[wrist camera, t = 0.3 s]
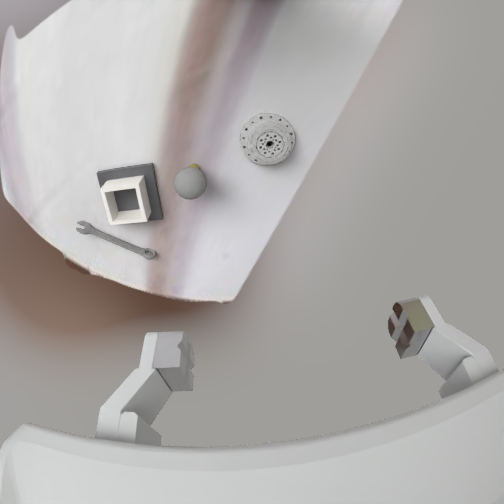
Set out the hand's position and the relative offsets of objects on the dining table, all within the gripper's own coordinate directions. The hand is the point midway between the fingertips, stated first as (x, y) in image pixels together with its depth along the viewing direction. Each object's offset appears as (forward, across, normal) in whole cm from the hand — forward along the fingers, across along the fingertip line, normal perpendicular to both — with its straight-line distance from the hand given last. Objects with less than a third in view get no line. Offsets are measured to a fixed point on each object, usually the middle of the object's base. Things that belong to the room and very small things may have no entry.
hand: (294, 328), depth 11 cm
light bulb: (+47, +10, +10) cm, 49 cm away
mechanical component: (+47, -4, +6) cm, 47 cm away
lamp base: (+46, +24, +13) cm, 54 cm away
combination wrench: (+47, +31, +22) cm, 61 cm away
